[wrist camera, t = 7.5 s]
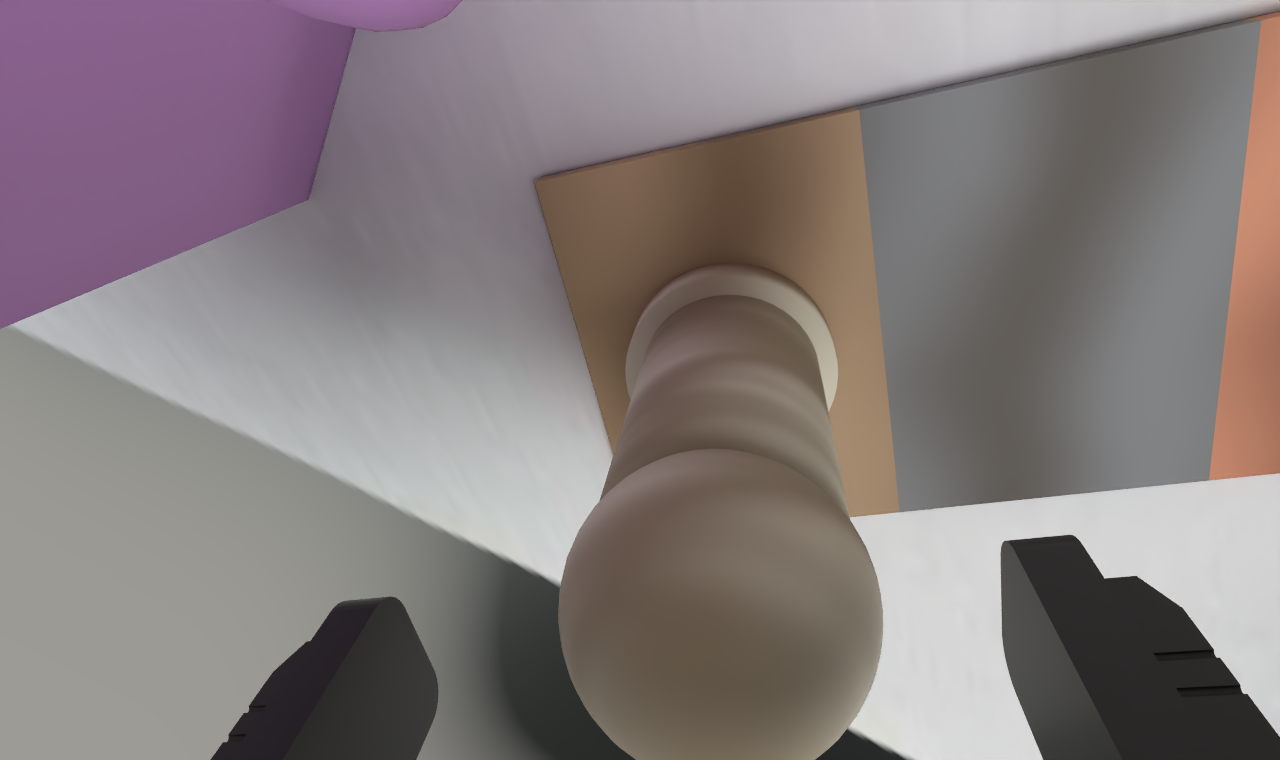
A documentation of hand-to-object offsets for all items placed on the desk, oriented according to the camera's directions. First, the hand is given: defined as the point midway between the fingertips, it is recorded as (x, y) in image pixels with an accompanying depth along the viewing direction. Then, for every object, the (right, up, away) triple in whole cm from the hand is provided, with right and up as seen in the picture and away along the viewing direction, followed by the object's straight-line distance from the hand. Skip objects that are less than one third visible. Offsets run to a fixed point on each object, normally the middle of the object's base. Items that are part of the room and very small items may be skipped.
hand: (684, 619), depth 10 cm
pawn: (+2, +4, +8) cm, 9 cm away
